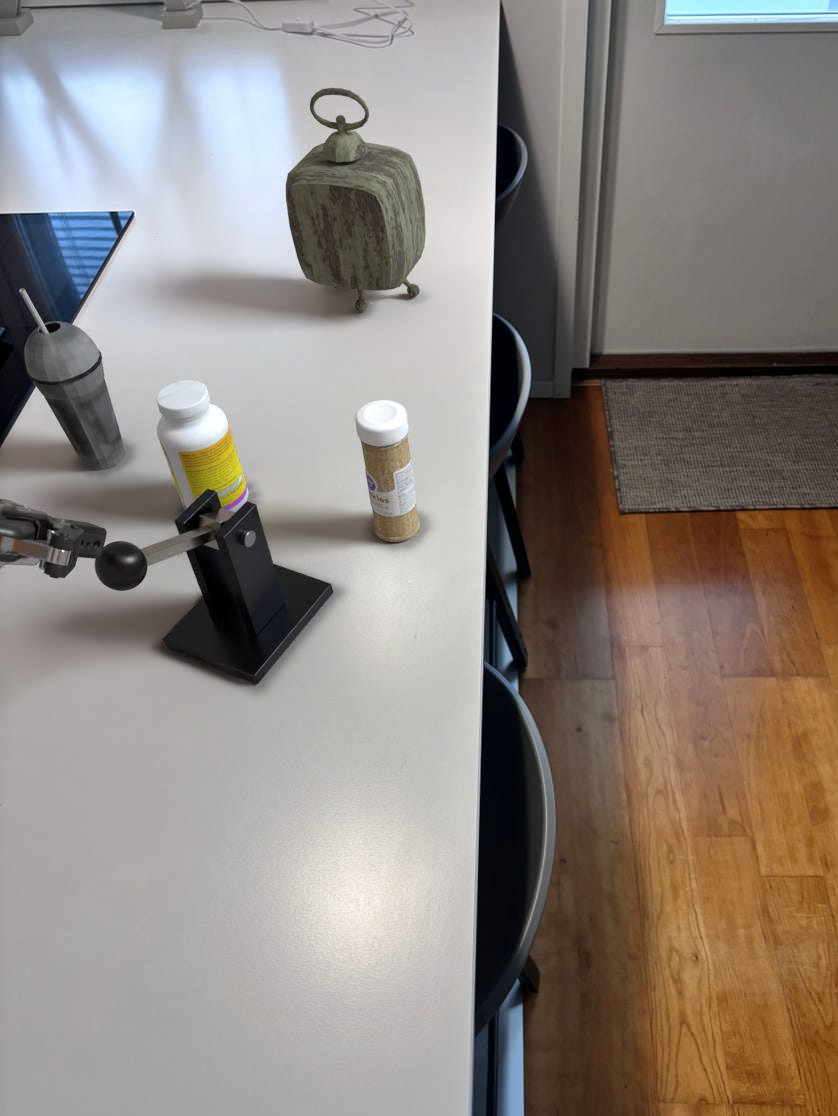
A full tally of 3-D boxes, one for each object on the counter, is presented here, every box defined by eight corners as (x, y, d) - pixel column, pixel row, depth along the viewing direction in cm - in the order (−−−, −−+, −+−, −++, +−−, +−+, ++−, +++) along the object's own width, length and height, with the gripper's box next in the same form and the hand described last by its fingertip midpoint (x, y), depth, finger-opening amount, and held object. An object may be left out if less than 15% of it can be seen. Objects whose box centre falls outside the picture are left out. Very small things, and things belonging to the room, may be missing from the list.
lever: (122, 603, 70) (121, 556, 68) (84, 588, 71) (82, 542, 69) (248, 550, 82) (250, 509, 80) (214, 539, 83) (215, 498, 81)
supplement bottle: (263, 494, 100) (233, 386, 91) (217, 532, 97) (181, 424, 87) (216, 473, 103) (182, 366, 93) (170, 509, 99) (130, 401, 90)
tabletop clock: (432, 291, 125) (412, 77, 106) (408, 329, 120) (381, 110, 101) (329, 279, 129) (291, 70, 110) (300, 315, 123) (255, 101, 104)
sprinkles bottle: (364, 531, 96) (343, 416, 86) (397, 506, 98) (380, 391, 88) (398, 551, 93) (380, 435, 83) (431, 525, 96) (417, 410, 86)
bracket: (257, 685, 83) (219, 578, 74) (165, 648, 87) (117, 541, 77) (333, 592, 90) (308, 483, 81) (245, 561, 94) (211, 453, 84)
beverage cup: (152, 444, 107) (87, 271, 92) (109, 485, 102) (33, 310, 87) (99, 430, 109) (27, 258, 94) (55, 469, 105) (-28, 296, 90)
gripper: (-38, 478, 49) (184, 514, 65) (-209, 416, 54) (38, 464, 70) (-70, 621, 50) (156, 621, 66) (-236, 547, 55) (14, 565, 71)
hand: (96, 540), depth 68 cm, fingers closed
